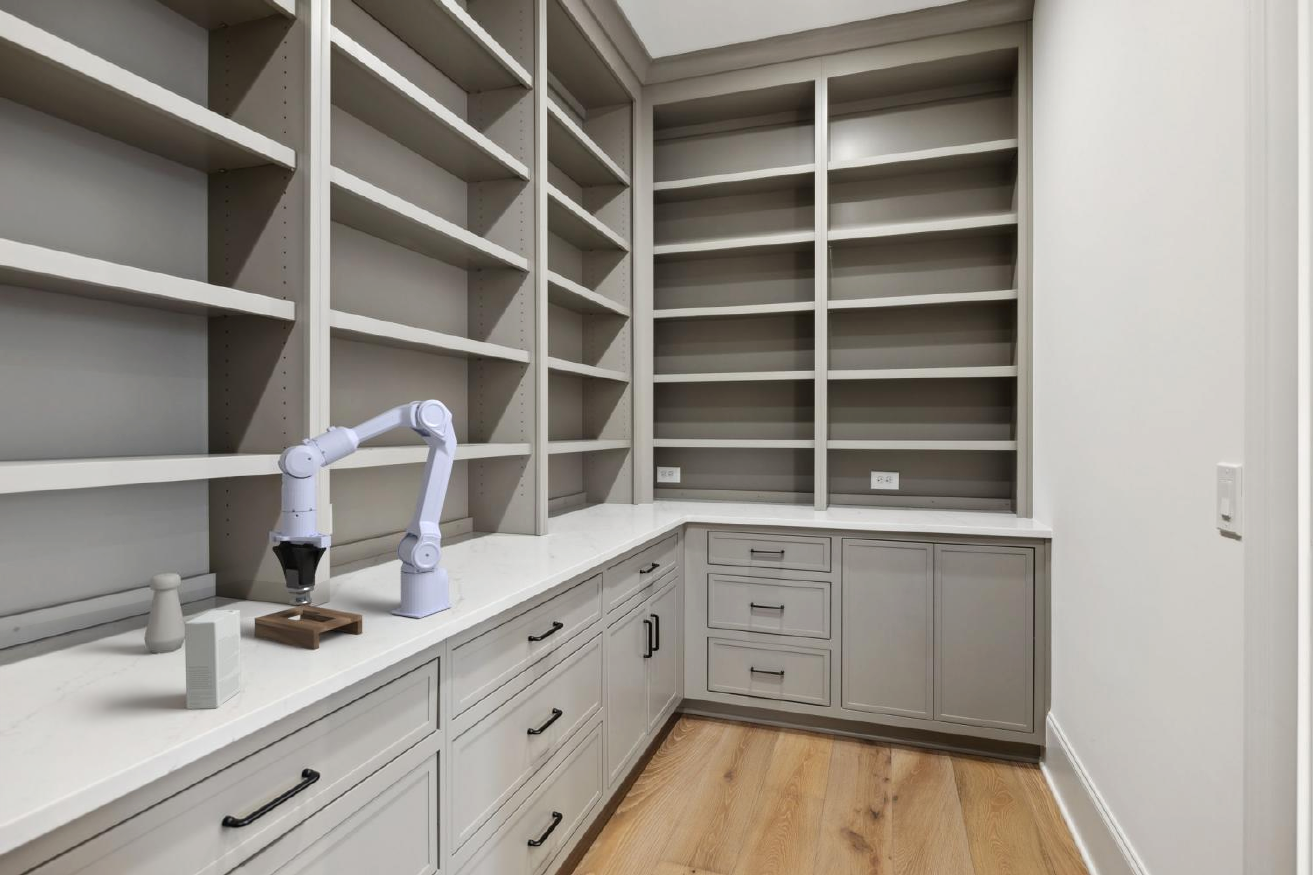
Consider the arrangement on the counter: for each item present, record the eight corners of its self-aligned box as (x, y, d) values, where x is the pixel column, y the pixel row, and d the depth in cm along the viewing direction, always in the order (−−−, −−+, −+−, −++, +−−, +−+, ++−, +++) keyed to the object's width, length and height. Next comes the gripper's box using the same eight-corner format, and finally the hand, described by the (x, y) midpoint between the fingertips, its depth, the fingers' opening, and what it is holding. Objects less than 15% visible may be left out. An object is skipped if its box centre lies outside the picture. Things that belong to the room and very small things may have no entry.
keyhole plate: (304, 621, 127) (304, 604, 127) (362, 633, 121) (362, 614, 121) (254, 636, 118) (254, 618, 118) (313, 649, 112) (313, 630, 112)
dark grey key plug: (303, 599, 124) (303, 564, 124) (319, 601, 122) (319, 566, 122) (281, 604, 120) (281, 569, 120) (297, 607, 118) (297, 571, 118)
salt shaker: (163, 656, 108) (162, 579, 108) (135, 654, 109) (134, 577, 109) (194, 645, 114) (194, 571, 114) (167, 642, 115) (167, 570, 115)
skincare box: (211, 691, 94) (211, 609, 94) (242, 690, 94) (241, 609, 94) (184, 709, 88) (183, 622, 88) (216, 709, 88) (216, 621, 88)
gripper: (253, 510, 120) (253, 583, 120) (305, 515, 114) (306, 592, 114) (289, 506, 126) (289, 575, 126) (340, 510, 120) (341, 583, 120)
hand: (299, 582), depth 120 cm, fingers closed on dark grey key plug, 3 cm apart
